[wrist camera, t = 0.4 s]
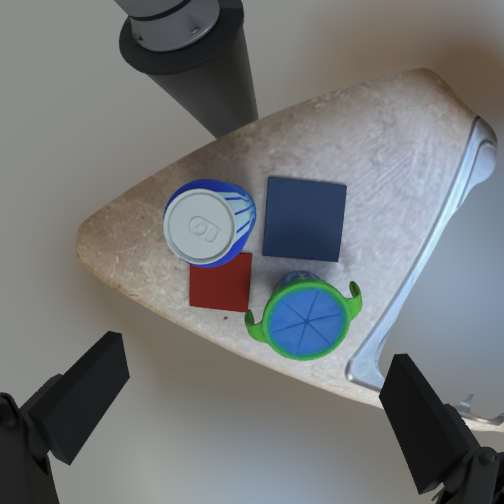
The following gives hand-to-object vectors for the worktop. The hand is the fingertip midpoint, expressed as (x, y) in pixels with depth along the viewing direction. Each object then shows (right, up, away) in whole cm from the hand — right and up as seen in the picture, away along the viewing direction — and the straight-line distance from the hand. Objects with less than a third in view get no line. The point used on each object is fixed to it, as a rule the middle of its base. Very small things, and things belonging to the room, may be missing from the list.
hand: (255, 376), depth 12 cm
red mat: (-5, +1, +29) cm, 30 cm away
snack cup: (+7, -1, +29) cm, 30 cm away
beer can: (-4, +11, +27) cm, 30 cm away
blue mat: (+7, +10, +27) cm, 30 cm away
